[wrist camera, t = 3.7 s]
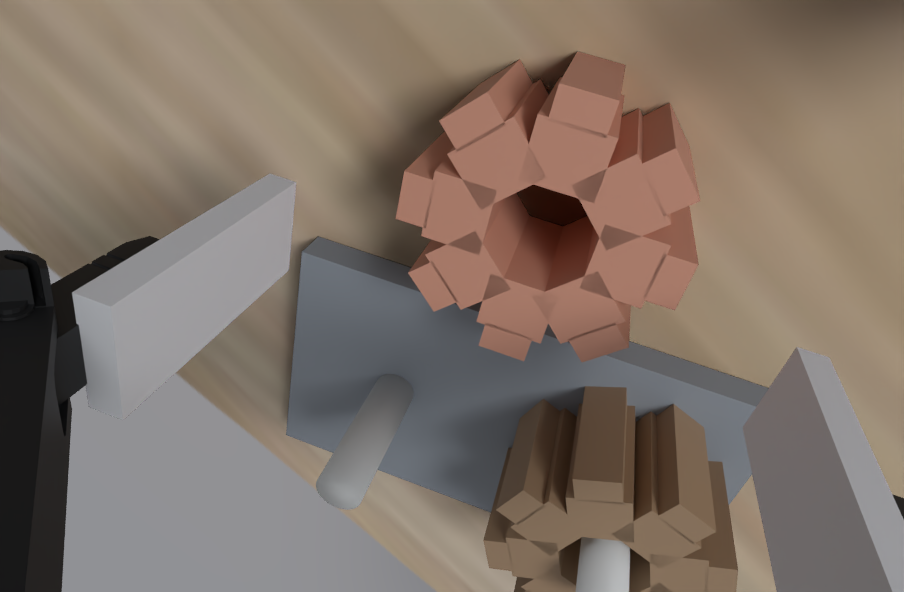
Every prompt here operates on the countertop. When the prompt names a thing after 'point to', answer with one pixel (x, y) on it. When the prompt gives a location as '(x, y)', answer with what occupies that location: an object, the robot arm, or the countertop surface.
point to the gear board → (521, 433)
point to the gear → (543, 243)
